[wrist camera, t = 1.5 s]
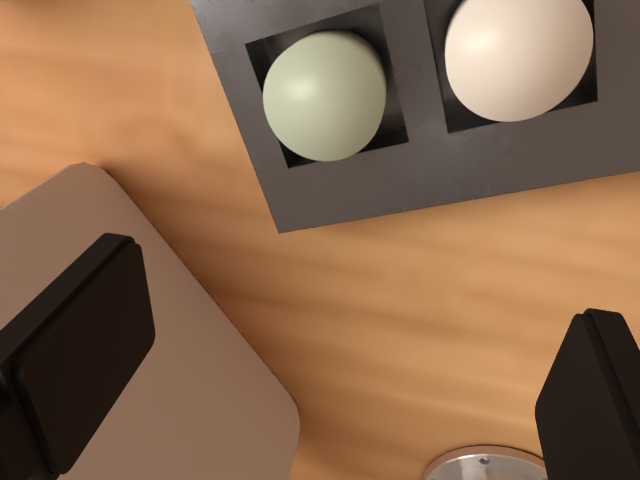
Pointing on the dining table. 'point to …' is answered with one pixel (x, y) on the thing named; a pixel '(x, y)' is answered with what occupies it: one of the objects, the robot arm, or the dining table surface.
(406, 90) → the button console
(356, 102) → the sage button
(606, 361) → the robot arm
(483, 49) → the cream button
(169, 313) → the rounded white slab
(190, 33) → the dining table surface
